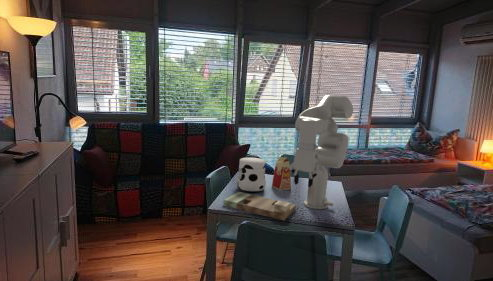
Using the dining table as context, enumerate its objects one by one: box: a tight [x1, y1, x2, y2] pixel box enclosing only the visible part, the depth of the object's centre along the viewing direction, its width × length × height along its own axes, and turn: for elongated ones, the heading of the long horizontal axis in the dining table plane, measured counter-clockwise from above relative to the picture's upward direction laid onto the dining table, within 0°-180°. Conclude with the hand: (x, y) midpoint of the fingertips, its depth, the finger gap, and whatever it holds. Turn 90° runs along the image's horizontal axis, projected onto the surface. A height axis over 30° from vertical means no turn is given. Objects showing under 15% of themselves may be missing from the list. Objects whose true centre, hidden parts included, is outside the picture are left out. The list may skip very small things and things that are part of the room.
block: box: [274, 200, 291, 214], centre depth 160 cm, size 6×6×4 cm
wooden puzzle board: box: [223, 191, 297, 221], centre depth 169 cm, size 33×16×3 cm, turn 63°
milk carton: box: [271, 156, 292, 191], centre depth 205 cm, size 9×9×20 cm
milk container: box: [236, 157, 267, 193], centre depth 197 cm, size 17×17×18 cm
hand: (303, 184), depth 153 cm, fingers open, 5 cm apart
